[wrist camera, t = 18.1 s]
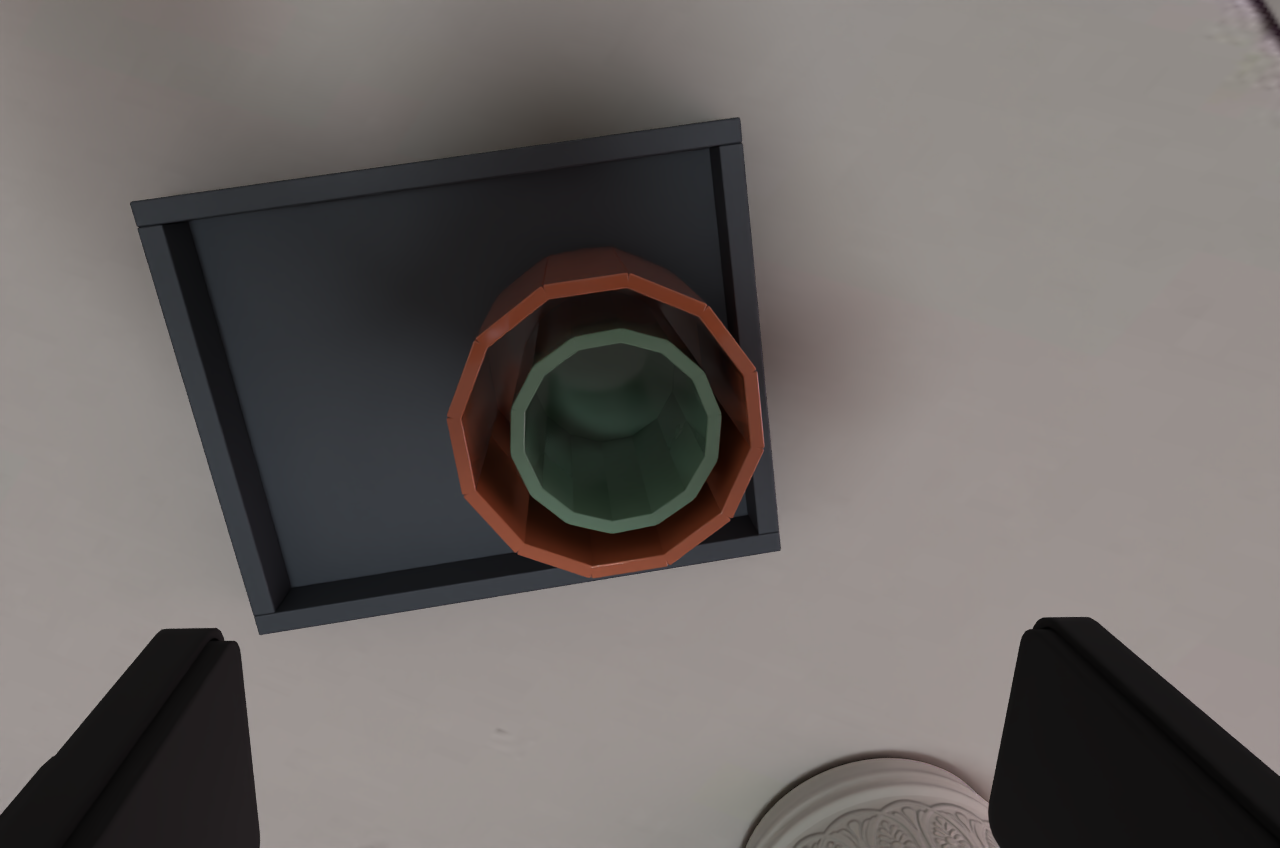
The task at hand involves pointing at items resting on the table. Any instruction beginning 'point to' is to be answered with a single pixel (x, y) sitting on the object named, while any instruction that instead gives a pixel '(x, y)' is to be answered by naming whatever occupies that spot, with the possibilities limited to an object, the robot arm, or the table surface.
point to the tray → (415, 350)
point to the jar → (878, 810)
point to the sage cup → (612, 415)
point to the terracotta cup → (490, 391)
